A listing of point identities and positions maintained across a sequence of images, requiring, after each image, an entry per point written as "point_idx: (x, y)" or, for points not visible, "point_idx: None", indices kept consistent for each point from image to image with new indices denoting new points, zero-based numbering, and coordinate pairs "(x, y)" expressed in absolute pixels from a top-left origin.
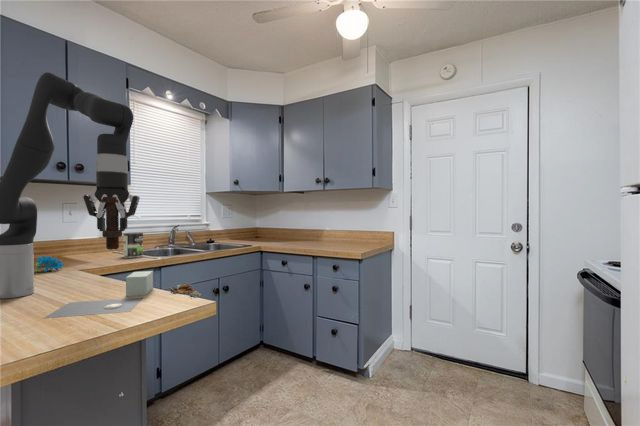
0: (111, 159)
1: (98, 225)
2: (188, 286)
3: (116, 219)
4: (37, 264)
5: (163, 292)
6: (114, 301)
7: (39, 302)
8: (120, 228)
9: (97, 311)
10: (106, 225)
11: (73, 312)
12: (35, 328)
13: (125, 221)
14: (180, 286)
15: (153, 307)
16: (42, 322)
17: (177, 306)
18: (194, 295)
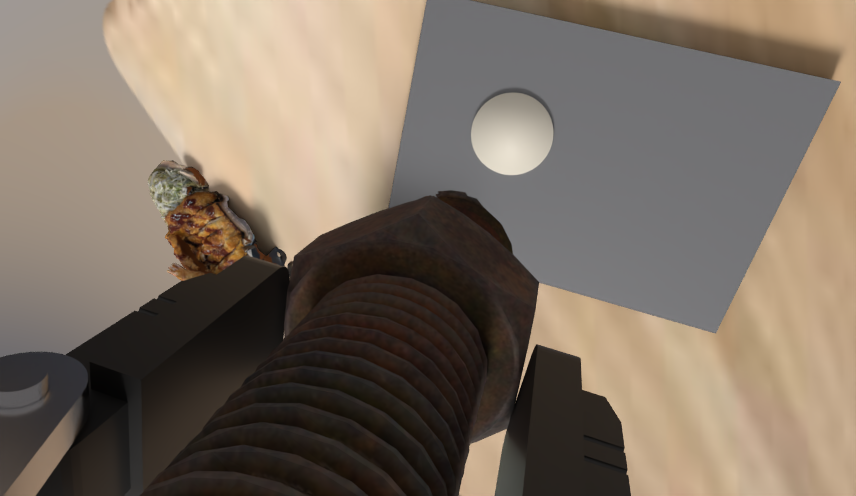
0: None
1: (599, 444)
2: (186, 270)
3: (232, 410)
4: None
5: None
6: (510, 233)
7: (848, 464)
8: (260, 272)
9: (581, 78)
10: (458, 380)
11: (694, 121)
12: None
13: (105, 334)
14: None
15: (339, 83)
16: (833, 77)
17: (236, 43)
18: (173, 180)
